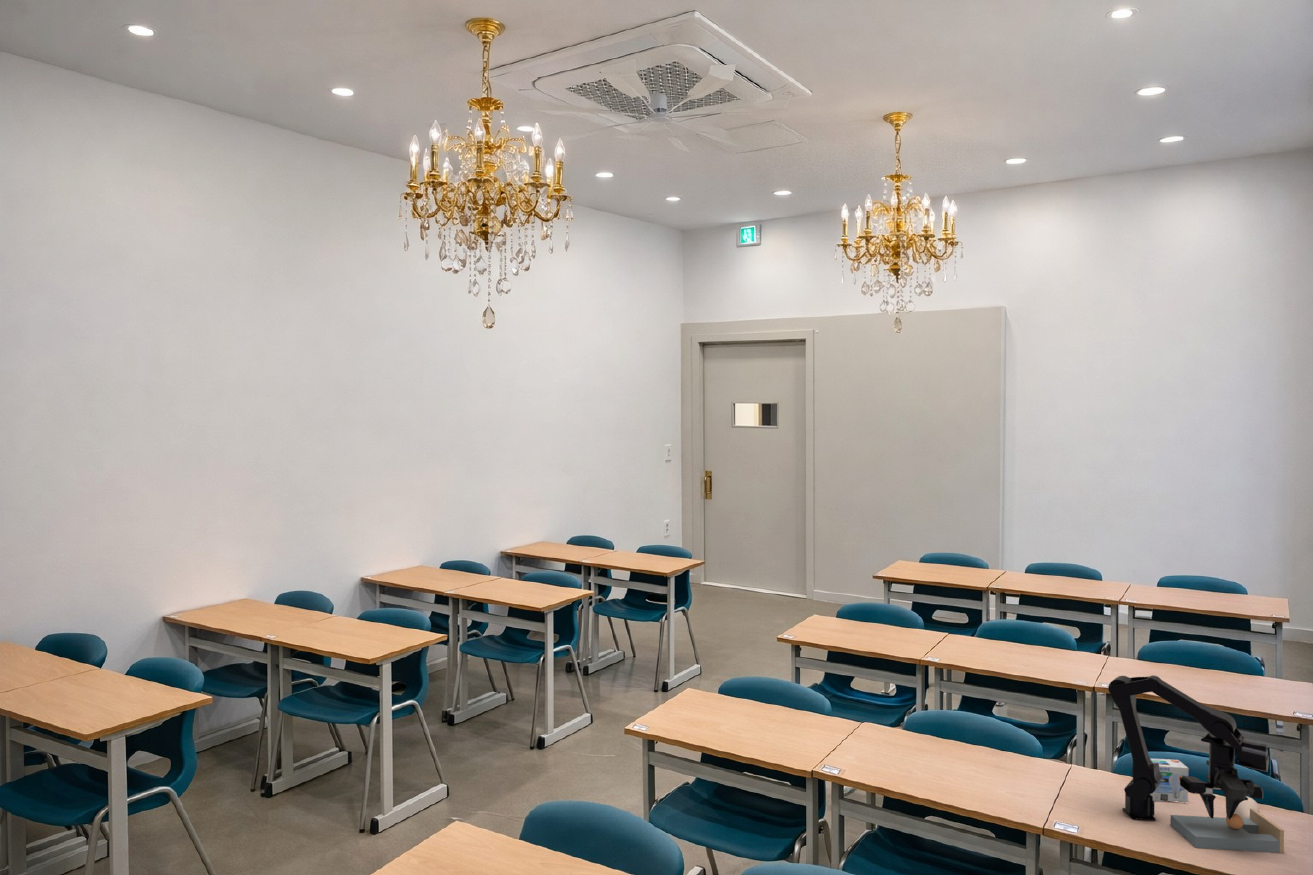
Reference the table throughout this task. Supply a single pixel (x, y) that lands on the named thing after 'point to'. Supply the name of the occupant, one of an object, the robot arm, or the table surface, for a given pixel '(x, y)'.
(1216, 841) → the notched base with backboard
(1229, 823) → the ball
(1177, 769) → the light bulb box
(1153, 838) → the table surface
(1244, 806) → the light bulb
